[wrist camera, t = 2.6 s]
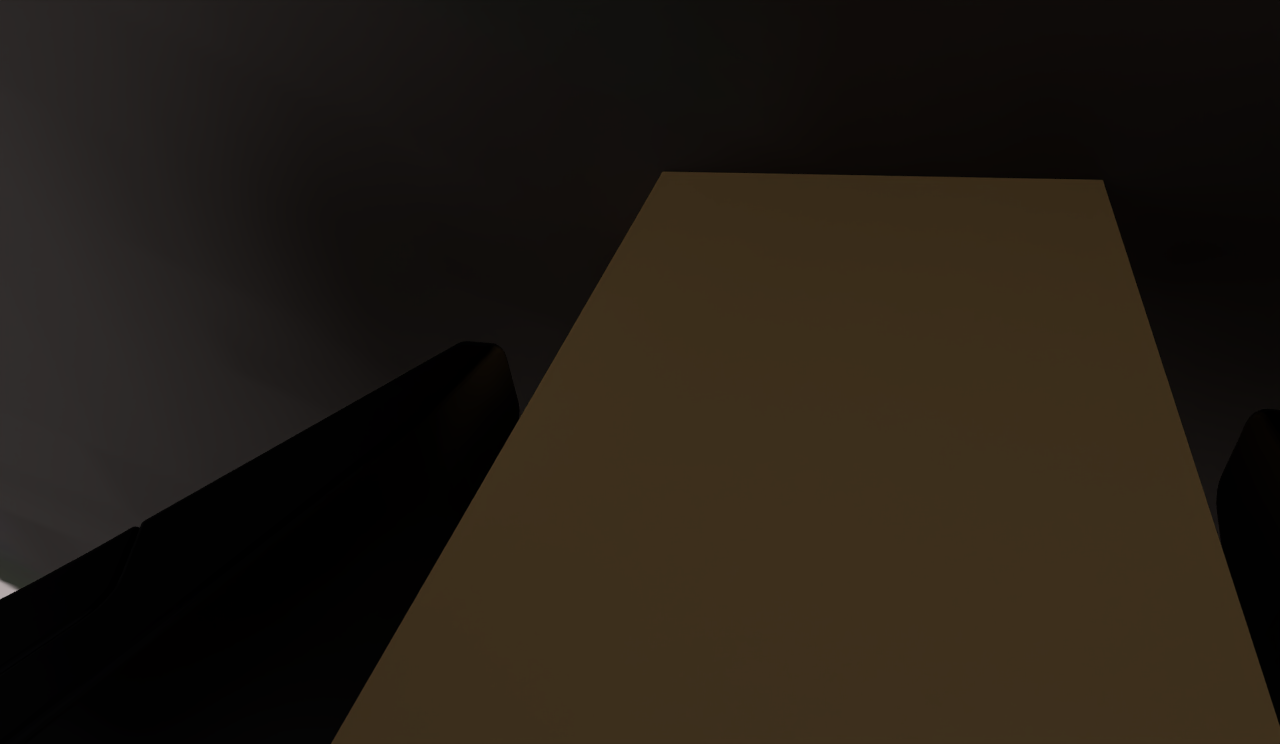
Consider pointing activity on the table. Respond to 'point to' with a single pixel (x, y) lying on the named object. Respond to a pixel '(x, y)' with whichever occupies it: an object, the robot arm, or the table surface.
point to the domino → (839, 494)
